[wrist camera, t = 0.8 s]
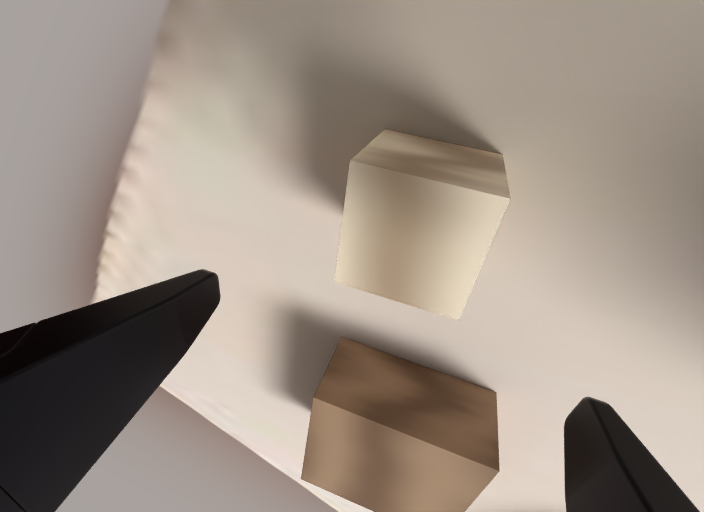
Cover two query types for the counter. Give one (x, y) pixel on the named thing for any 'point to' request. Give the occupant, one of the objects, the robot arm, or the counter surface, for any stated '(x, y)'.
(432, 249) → the maple cube
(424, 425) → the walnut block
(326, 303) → the counter surface
